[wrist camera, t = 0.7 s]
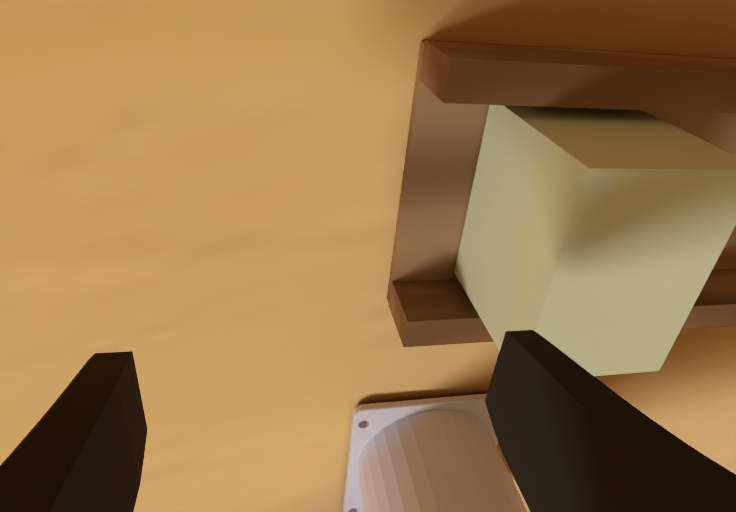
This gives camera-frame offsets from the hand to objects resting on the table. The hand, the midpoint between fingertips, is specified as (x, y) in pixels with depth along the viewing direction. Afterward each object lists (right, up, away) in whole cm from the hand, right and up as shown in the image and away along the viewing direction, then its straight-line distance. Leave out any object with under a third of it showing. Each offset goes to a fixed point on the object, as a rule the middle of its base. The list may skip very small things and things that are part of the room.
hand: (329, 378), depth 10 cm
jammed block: (+7, +5, +9) cm, 13 cm away
